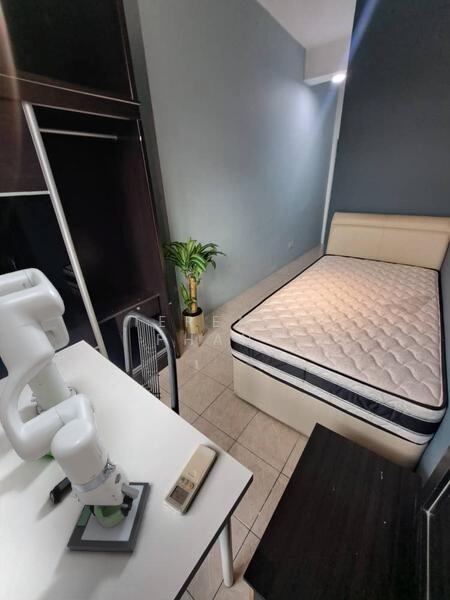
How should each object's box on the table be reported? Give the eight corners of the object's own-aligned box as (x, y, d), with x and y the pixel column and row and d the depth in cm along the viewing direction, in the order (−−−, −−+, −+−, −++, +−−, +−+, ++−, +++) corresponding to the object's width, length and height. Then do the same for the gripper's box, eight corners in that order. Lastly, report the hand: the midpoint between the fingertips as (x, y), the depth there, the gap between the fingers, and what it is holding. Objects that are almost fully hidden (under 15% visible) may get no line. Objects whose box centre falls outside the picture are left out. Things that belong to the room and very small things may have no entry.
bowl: (94, 528, 58) (88, 519, 56) (107, 493, 64) (102, 484, 62) (122, 528, 58) (117, 520, 56) (133, 494, 64) (128, 485, 62)
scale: (70, 549, 57) (65, 544, 56) (97, 485, 69) (94, 480, 67) (133, 551, 56) (130, 546, 55) (150, 486, 68) (148, 481, 66)
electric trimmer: (110, 457, 75) (107, 451, 74) (55, 506, 65) (50, 500, 63) (103, 449, 78) (101, 443, 76) (49, 496, 67) (45, 489, 65)
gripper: (137, 451, 55) (152, 491, 63) (62, 450, 56) (87, 490, 64) (124, 490, 48) (143, 529, 57) (39, 489, 49) (70, 527, 58)
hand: (113, 508), depth 60 cm, fingers closed on bowl, 6 cm apart
